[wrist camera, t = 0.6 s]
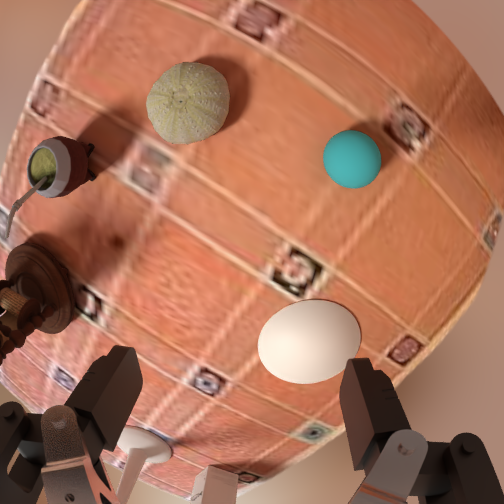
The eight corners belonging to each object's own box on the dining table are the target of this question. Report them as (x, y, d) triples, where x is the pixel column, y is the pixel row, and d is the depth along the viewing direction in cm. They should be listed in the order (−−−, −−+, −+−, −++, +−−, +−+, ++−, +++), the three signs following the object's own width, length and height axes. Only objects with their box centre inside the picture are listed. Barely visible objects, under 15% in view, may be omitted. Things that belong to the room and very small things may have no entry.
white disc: (258, 299, 37) (258, 299, 36) (368, 298, 36) (368, 299, 36) (257, 382, 41) (257, 383, 41) (350, 380, 40) (351, 381, 40)
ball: (319, 130, 30) (329, 125, 24) (370, 135, 30) (390, 131, 24) (318, 184, 32) (328, 190, 26) (369, 186, 32) (388, 193, 26)
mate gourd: (79, 126, 31) (-6, 124, 17) (116, 163, 32) (33, 175, 18) (52, 171, 33) (-30, 188, 19) (85, 208, 34) (5, 241, 20)
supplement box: (208, 464, 50) (199, 513, 38) (239, 474, 50) (234, 522, 38) (194, 474, 52) (185, 519, 40) (224, 484, 53) (218, 528, 41)
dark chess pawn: (16, 304, 40) (-55, 362, 21) (15, 227, 36) (-79, 272, 17) (78, 339, 41) (10, 420, 22) (82, 260, 37) (-17, 332, 18)
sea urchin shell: (247, 70, 27) (217, 108, 23) (232, 122, 34) (205, 165, 30) (171, 47, 26) (128, 81, 23) (166, 99, 33) (132, 138, 30)
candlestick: (158, 466, 52) (126, 572, 23) (108, 439, 50) (60, 543, 22) (181, 447, 48) (146, 576, 20) (122, 416, 46) (65, 542, 18)
